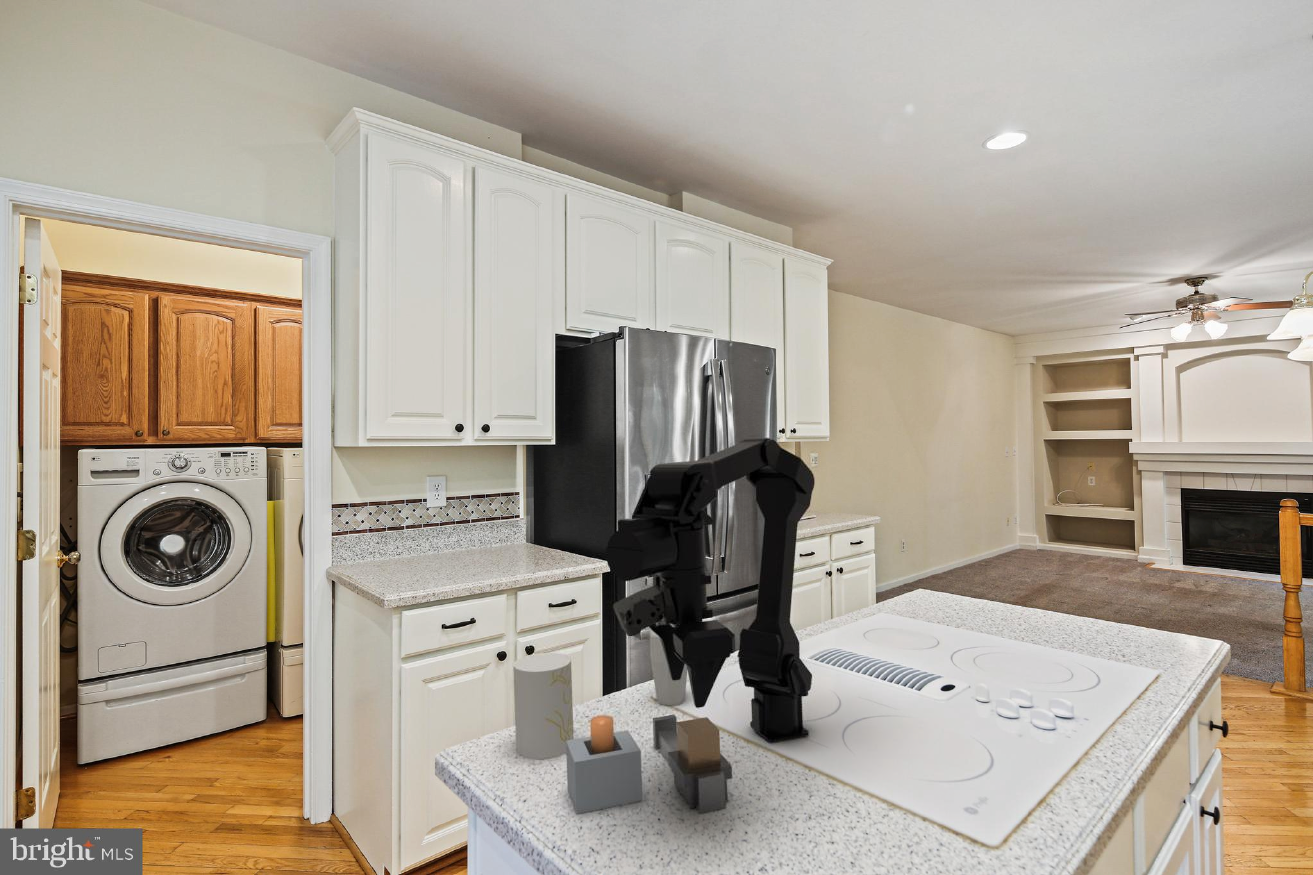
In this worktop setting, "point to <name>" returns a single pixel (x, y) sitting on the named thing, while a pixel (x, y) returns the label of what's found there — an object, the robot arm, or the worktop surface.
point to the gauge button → (602, 734)
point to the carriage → (697, 756)
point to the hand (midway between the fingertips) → (687, 692)
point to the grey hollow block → (603, 773)
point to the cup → (543, 705)
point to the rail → (707, 784)
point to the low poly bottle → (665, 675)
